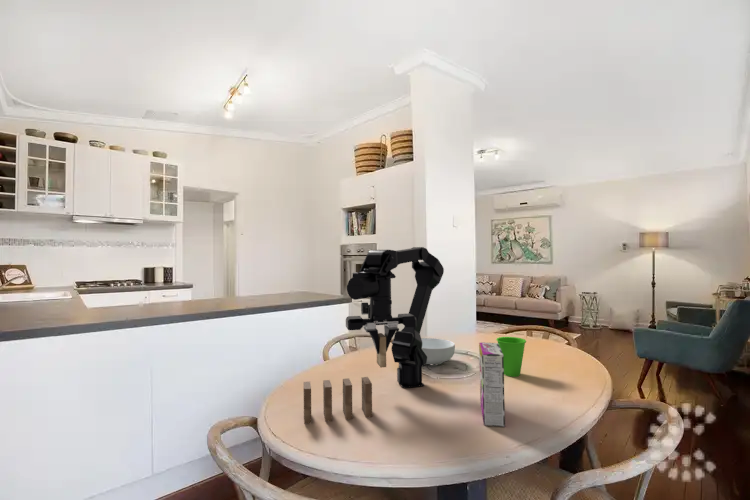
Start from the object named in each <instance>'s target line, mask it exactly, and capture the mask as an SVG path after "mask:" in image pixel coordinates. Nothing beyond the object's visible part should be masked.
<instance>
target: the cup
mask: <svg viewBox="0 0 750 500" xmlns="http://www.w3.org/2000/svg"><path fill="white" fill-rule="evenodd" d="M495 341H497V343H498V344H499V346H500V348H501V351H502V353H503V355H504V376H507V377H514V378H517V377H519V376H520V375H521V372H522V365H523V358H524V351H525V346H526V343H527V340H526V339H524V338H523V337H522V338H521V337H517V336H499V337H496V339H495Z"/></svg>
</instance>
